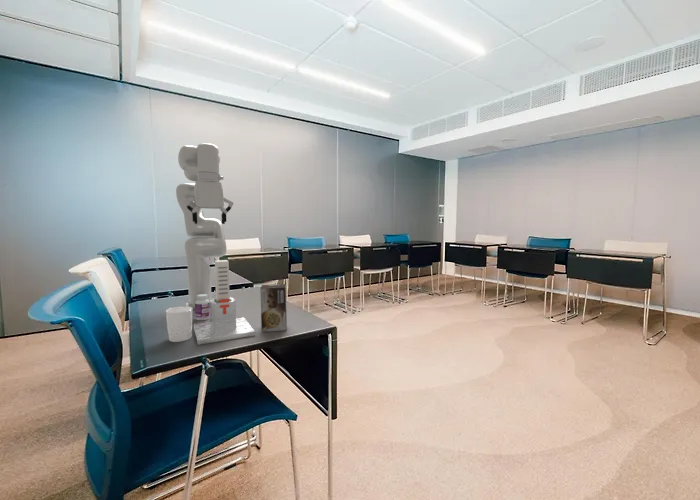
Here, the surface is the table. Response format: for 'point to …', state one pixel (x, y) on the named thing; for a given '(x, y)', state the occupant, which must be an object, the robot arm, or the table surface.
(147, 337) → the table surface
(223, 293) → the column
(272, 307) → the coffee box
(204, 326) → the stand
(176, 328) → the white cup
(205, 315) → the pill bottle
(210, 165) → the robot arm
